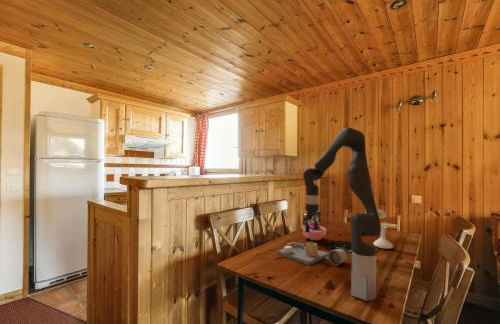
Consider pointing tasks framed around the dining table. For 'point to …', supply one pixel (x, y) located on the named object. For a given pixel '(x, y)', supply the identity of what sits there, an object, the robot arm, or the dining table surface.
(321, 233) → the cell model
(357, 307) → the dining table surface
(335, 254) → the ceramic mug
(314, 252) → the gold hollow block
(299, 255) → the carrier
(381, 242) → the flower in vase
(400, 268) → the dining table surface
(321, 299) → the dining table surface
